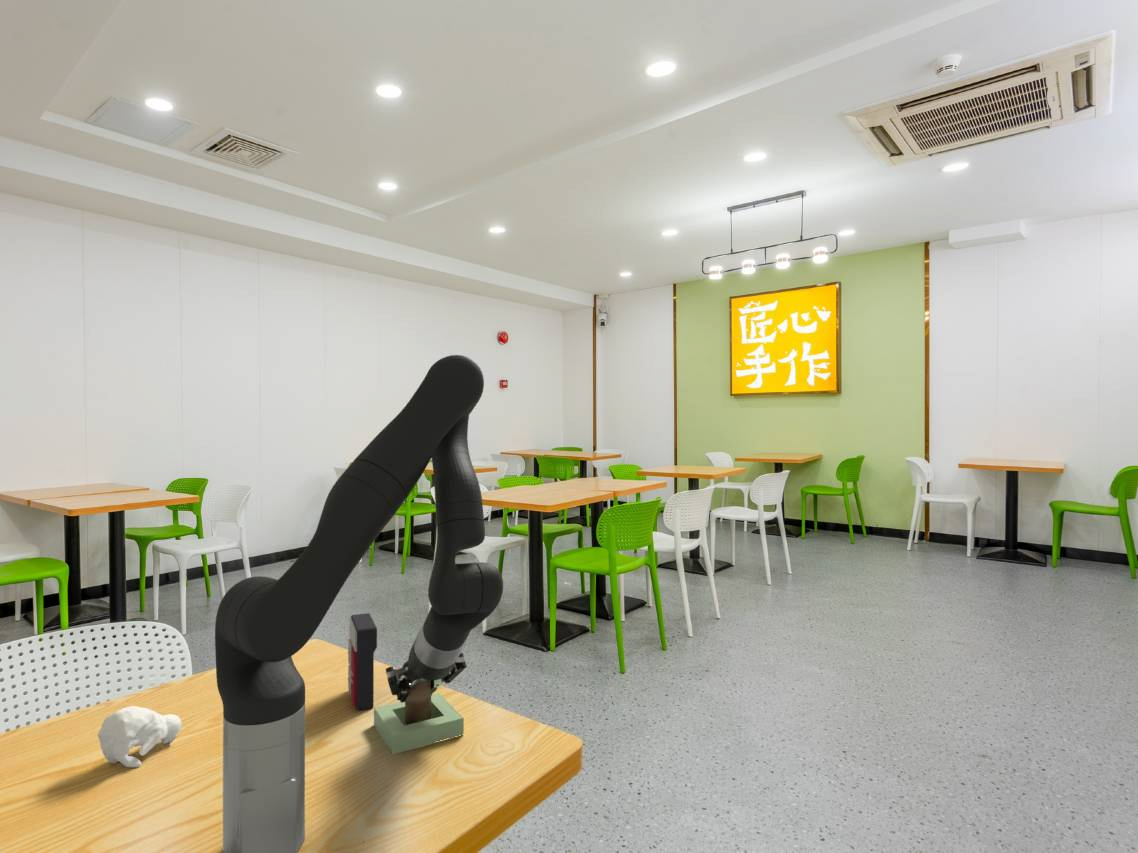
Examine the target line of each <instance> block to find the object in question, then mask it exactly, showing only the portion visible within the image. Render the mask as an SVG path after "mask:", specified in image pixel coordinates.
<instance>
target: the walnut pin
mask: <svg viewBox="0 0 1138 853" xmlns="http://www.w3.org/2000/svg"><path fill="white" fill-rule="evenodd" d="M429 719H432V718H431V680H425V681H424V682H422V683H421V684H420V685H419V686H418V687H417V688H416V689H412V690H411V691H410V692H409V695H408V696H407V697H406V699H405V724H404V725H409V724H413V723H417V722H421V721H425V720H429Z"/></svg>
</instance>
